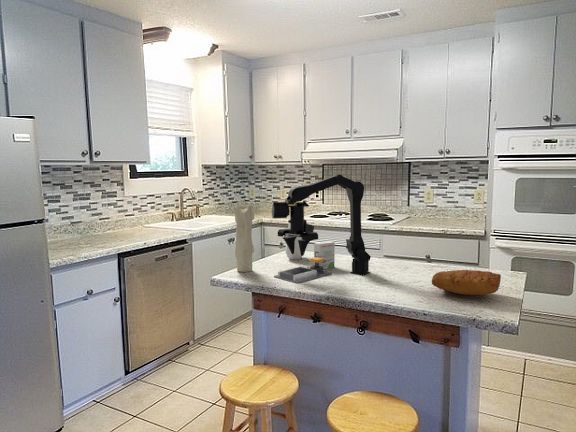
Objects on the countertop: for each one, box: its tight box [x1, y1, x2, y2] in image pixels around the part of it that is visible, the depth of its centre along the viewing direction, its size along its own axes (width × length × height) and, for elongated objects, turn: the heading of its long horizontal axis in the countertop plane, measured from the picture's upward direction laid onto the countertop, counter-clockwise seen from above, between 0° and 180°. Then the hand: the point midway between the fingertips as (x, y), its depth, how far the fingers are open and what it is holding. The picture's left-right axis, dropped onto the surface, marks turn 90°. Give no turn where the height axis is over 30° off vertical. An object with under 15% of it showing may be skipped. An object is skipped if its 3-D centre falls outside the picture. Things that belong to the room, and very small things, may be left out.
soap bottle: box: [285, 202, 303, 261], centre depth 210 cm, size 13×10×29 cm
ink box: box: [313, 240, 336, 270], centre depth 191 cm, size 8×5×12 cm, turn 123°
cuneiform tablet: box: [431, 269, 502, 296], centre depth 149 cm, size 22×17×8 cm
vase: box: [233, 203, 255, 273], centre depth 186 cm, size 9×8×30 cm
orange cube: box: [309, 257, 324, 267], centre depth 184 cm, size 4×4×4 cm
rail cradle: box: [273, 265, 333, 284], centre depth 178 cm, size 14×21×3 cm, turn 134°
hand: (297, 254), depth 175 cm, fingers open, 5 cm apart
